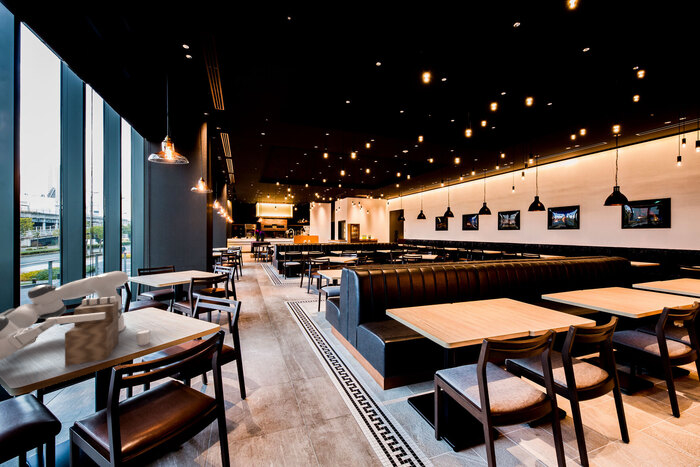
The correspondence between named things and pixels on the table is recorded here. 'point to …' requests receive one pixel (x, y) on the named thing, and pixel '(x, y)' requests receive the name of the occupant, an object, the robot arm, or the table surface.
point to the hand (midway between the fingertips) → (57, 319)
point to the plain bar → (77, 318)
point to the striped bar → (98, 300)
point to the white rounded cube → (143, 337)
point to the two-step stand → (92, 335)
